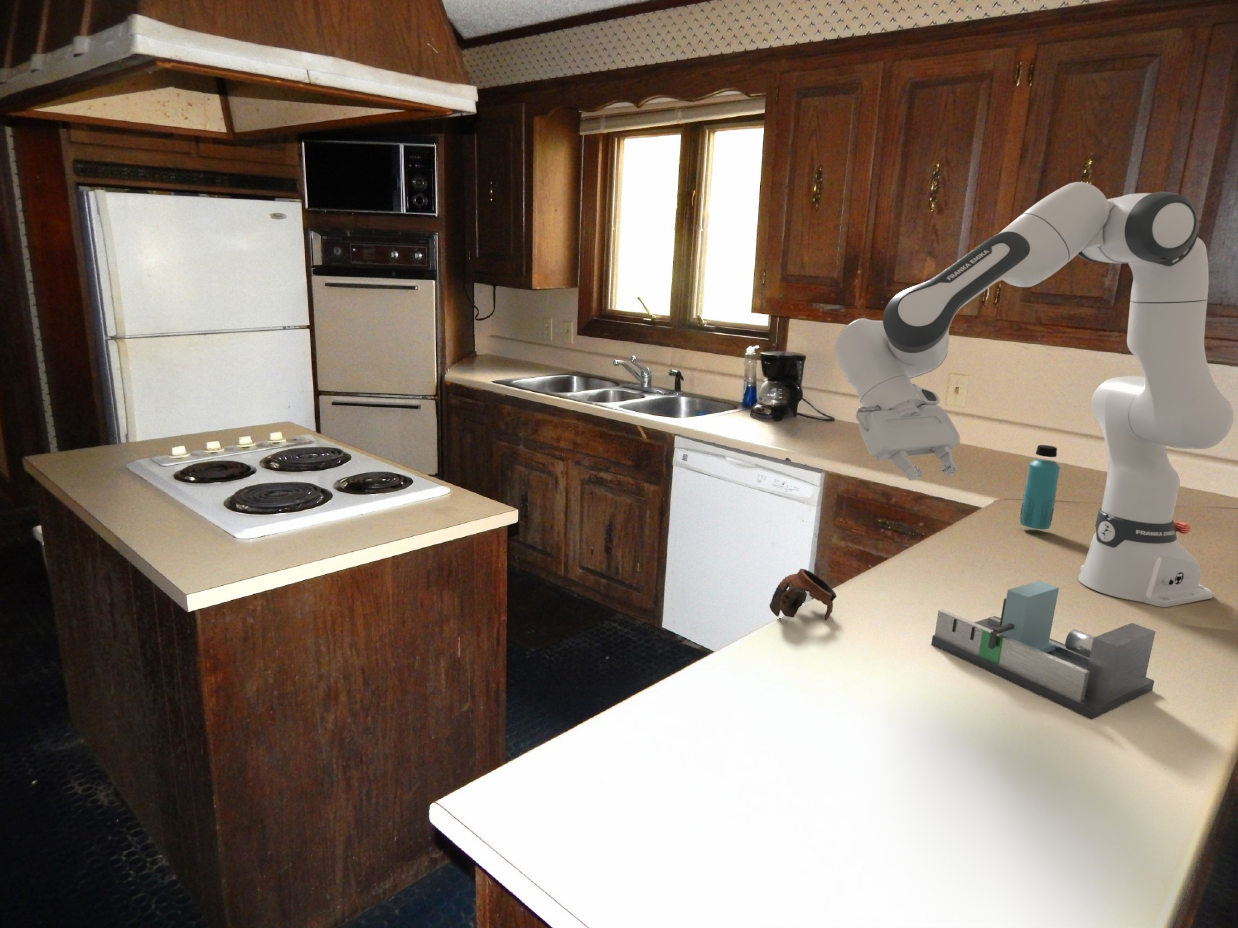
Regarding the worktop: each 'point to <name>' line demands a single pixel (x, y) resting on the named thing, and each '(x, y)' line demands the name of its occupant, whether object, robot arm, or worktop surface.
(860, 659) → the worktop surface
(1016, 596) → the gauge slider
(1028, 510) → the beverage bottle
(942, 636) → the frame
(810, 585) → the brown hollow ring part
